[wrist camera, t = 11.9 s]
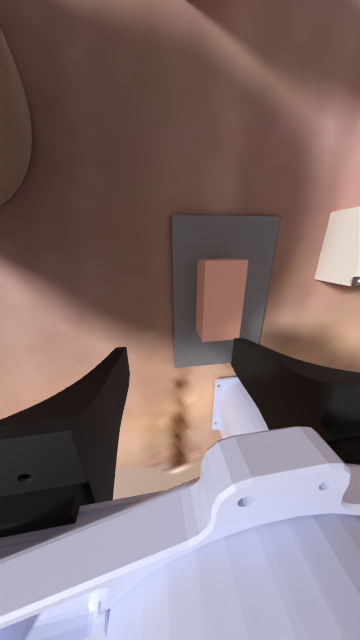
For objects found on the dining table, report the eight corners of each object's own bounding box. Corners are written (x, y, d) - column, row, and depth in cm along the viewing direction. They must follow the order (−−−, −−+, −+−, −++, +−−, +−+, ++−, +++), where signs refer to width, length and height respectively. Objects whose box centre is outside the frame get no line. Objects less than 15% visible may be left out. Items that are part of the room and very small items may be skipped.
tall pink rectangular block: (228, 327, 22) (239, 339, 20) (195, 330, 22) (202, 342, 19) (234, 258, 19) (248, 260, 17) (197, 258, 19) (205, 261, 16)
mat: (254, 358, 25) (256, 359, 25) (174, 366, 24) (175, 367, 23) (278, 216, 19) (280, 216, 19) (171, 215, 18) (171, 214, 17)
